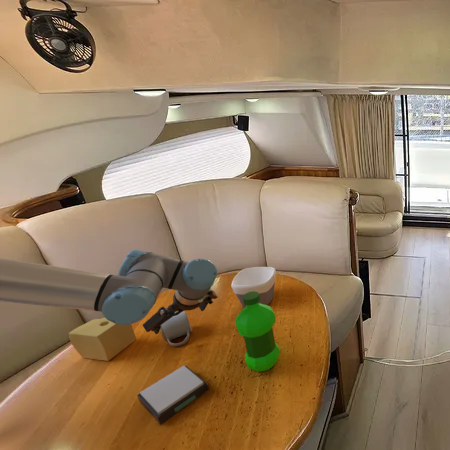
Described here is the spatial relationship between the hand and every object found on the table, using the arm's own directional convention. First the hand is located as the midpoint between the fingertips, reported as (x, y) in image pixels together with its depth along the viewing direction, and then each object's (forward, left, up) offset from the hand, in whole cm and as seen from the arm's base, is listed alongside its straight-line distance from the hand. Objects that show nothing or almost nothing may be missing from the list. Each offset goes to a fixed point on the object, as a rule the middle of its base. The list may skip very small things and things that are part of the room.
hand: (179, 318), depth 101 cm
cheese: (-15, +17, -10) cm, 25 cm away
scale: (-12, -20, -9) cm, 25 cm away
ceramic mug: (0, +4, -10) cm, 10 cm away
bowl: (+28, +1, -10) cm, 30 cm away
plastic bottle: (+8, -31, -10) cm, 33 cm away
